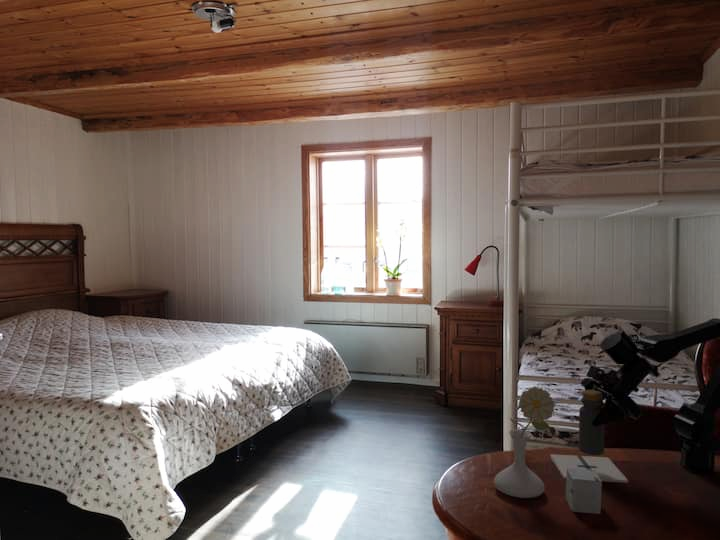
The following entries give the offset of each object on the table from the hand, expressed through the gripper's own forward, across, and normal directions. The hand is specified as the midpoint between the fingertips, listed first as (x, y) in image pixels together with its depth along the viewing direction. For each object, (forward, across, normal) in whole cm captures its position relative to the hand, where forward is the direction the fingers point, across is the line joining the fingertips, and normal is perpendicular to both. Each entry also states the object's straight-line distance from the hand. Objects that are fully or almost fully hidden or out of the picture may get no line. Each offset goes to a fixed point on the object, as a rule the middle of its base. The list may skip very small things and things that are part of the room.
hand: (586, 421), depth 133 cm
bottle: (+5, 0, +6) cm, 8 cm away
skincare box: (+16, +16, +2) cm, 23 cm away
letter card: (+8, -2, +10) cm, 13 cm away
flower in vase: (+24, +9, -5) cm, 26 cm away
